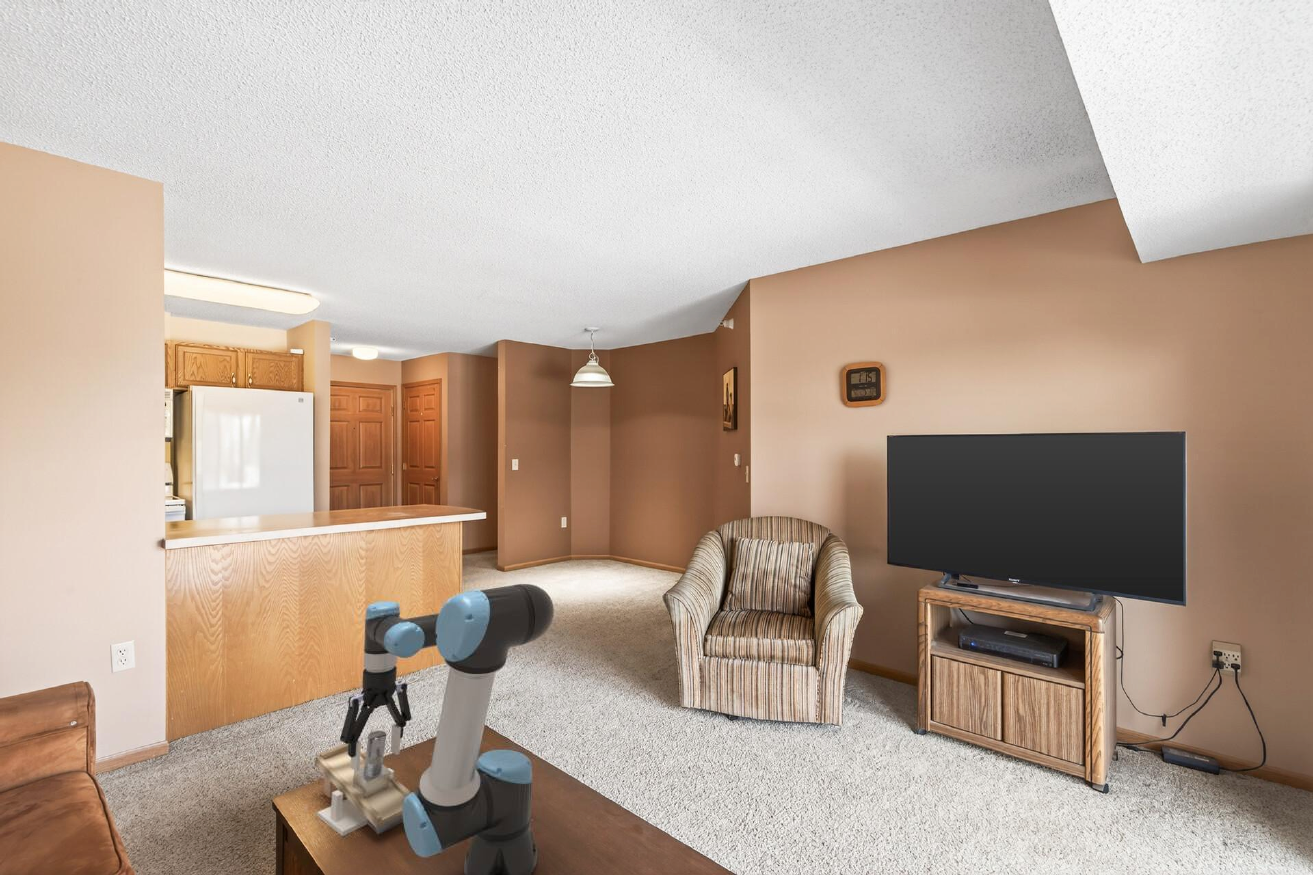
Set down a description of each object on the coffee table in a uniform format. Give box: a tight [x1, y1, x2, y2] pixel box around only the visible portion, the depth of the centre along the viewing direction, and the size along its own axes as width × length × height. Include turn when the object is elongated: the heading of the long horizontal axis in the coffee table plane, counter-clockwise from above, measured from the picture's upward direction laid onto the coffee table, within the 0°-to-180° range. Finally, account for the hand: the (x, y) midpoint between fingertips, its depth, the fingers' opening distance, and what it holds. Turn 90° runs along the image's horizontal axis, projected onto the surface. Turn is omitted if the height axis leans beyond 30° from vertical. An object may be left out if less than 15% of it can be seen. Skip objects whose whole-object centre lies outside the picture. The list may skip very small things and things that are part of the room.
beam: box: [314, 743, 412, 835], centre depth 147 cm, size 30×11×5 cm, turn 54°
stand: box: [317, 767, 395, 837], centre depth 149 cm, size 20×16×7 cm
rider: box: [352, 730, 391, 798], centre depth 145 cm, size 6×6×13 cm
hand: (375, 760), depth 144 cm, fingers open, 9 cm apart
